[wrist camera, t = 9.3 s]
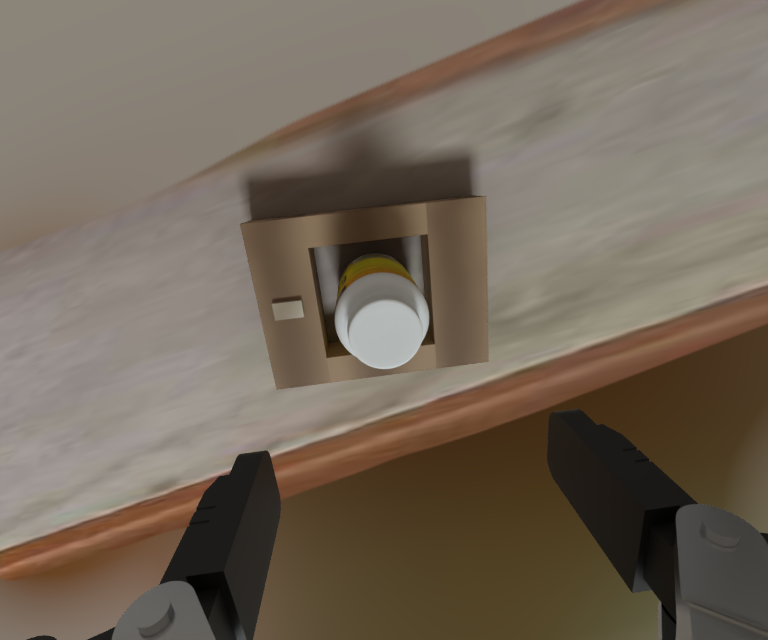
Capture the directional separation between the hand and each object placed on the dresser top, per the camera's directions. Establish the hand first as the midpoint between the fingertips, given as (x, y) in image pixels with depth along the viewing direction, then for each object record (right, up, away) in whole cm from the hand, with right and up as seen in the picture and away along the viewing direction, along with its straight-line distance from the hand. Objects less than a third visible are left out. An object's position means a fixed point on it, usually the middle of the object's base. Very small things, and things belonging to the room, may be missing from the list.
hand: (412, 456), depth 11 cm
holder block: (-2, +6, +19) cm, 20 cm away
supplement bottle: (-2, +6, +19) cm, 20 cm away
